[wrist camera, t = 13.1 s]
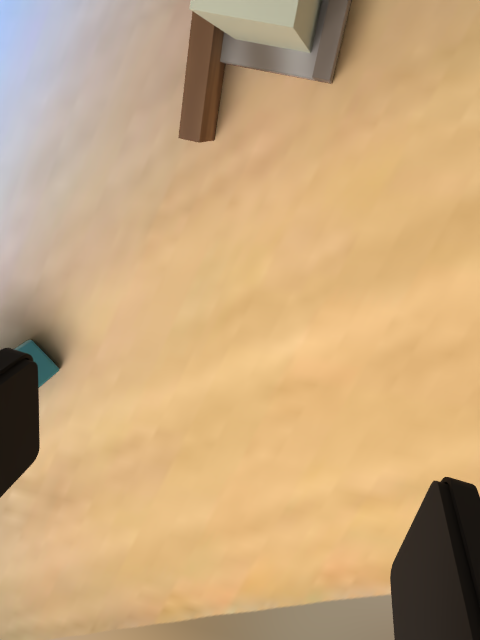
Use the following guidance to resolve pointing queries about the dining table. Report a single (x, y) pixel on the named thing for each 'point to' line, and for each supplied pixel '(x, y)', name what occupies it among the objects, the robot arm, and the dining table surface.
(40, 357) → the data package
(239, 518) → the dining table surface
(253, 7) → the slotted sage box
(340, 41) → the board
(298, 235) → the dining table surface
